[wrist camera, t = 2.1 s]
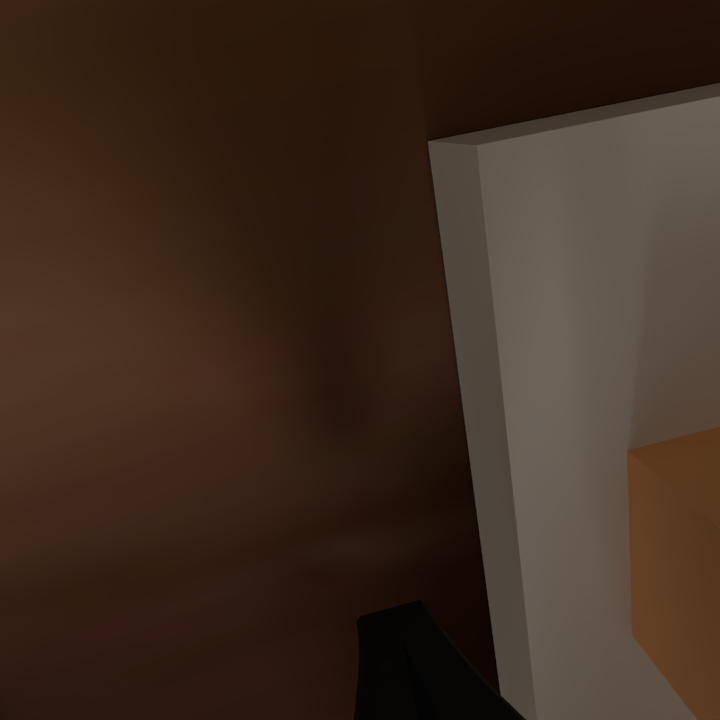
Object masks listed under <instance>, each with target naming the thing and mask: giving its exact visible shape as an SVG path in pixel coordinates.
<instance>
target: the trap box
mask: <svg viewBox="0 0 720 720" xmlns="http://www.w3.org/2000/svg"><path fill="white" fill-rule="evenodd" d="M428 147H429V155H430V162H431V170H432V178H433V185H434V193H435V200H436V208H437V215H438V223H439V231H440V238H441V246H442V253H443V261H444V269H445V276H446V284H447V291H448V299H449V307H450V314H451V322H452V329H453V337H454V344H455V352H456V360H457V367H458V375H459V382H460V390H461V398H462V405H463V413H464V420H465V428H466V436H467V443H468V451H469V458H470V466H471V473H472V481H473V489H474V496H475V504H476V511H477V519H478V527H479V534H480V542H481V549H482V557H483V565H484V572H485V580H486V587H487V595H488V603H489V610H490V618H491V625H492V633H493V640H494V648H495V656H496V663H497V671H498V678H499V686H500V694H501V696H502V697H503V698H504V699H505V700H506V701H507V702H508V703H510V704H511V705H512V706H513V707H514V708H515V709H516V710H517V711H518V712H519V713H520V714H521V715H522V716H523V717H524V718H525V719H526V720H697V719H696V718H695V716H694V715H693V714H692V712H691V711H690V710H689V708H688V707H687V706H686V705H685V703H684V702H683V701H682V699H681V698H680V697H679V695H678V694H677V693H676V691H675V690H674V689H673V688H672V686H671V685H670V684H669V682H668V681H667V680H666V678H665V677H664V676H663V675H662V673H661V672H660V671H659V669H658V668H657V667H656V665H655V664H654V663H653V661H652V660H651V659H650V658H649V656H648V655H647V654H646V652H645V651H644V650H643V648H642V647H641V646H640V644H639V643H638V642H637V641H636V639H635V638H634V637H633V635H632V612H631V575H630V537H629V500H628V463H627V450H630V449H634V448H638V447H642V446H646V445H650V444H654V443H658V442H661V441H665V440H669V439H673V438H677V437H681V436H685V435H689V434H693V433H697V432H700V431H704V430H708V429H712V428H716V427H720V83H717V84H712V85H707V86H702V87H697V88H692V89H687V90H682V91H677V92H672V93H667V94H662V95H657V96H652V97H647V98H642V99H637V100H632V101H627V102H622V103H617V104H612V105H607V106H602V107H597V108H592V109H587V110H582V111H577V112H572V113H567V114H562V115H557V116H552V117H547V118H542V119H537V120H532V121H527V122H522V123H517V124H512V125H507V126H502V127H497V128H492V129H487V130H482V131H477V132H472V133H467V134H462V135H457V136H452V137H447V138H442V139H437V140H432V141H428Z"/></svg>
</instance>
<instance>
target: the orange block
mask: <svg viewBox="0 0 720 720" xmlns="http://www.w3.org/2000/svg"><path fill="white" fill-rule="evenodd" d="M627 463H628V500H629V537H630V575H631V612H632V635H633V637H634V638H635V639H636V641H637V642H638V643H639V644H640V646H641V647H642V648H643V650H644V651H645V652H646V654H647V655H648V656H649V658H650V659H651V660H652V661H653V663H654V664H655V665H656V667H657V668H658V669H659V671H660V672H661V673H662V675H663V676H664V677H665V678H666V680H667V681H668V682H669V684H670V685H671V686H672V688H673V689H674V690H675V691H676V693H677V694H678V695H679V697H680V698H681V699H682V701H683V702H684V703H685V705H686V706H687V707H688V708H689V710H690V711H691V712H692V714H693V715H694V716H695V718H696V719H697V720H720V427H716V428H712V429H708V430H704V431H700V432H697V433H693V434H689V435H685V436H681V437H677V438H673V439H669V440H665V441H661V442H658V443H654V444H650V445H646V446H642V447H638V448H634V449H630V450H627Z"/></svg>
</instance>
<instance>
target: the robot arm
mask: <svg viewBox="0 0 720 720" xmlns="http://www.w3.org/2000/svg"><path fill="white" fill-rule="evenodd" d="M357 627H358V635H359V672H358V685H357V695H356V705H355V714H354V720H526V719H525V718H524V717H523V716H522V715H521V714H520V713H519V712H518V711H517V710H516V709H515V708H514V707H513V706H512V705H511V704H510V703H508V702H507V701H506V700H505V699H504V698H503V697H502V696H501V695H500V694H499V693H498V691H497V690H496V689H495V688H494V687H493V686H492V685H491V684H490V683H489V682H488V681H487V680H486V679H485V678H484V677H483V675H482V674H481V673H480V672H479V671H478V670H477V669H476V668H475V666H474V665H473V664H472V663H471V662H470V661H469V660H468V659H467V657H466V656H465V655H464V654H463V653H462V652H461V650H460V649H459V648H458V647H457V645H456V644H455V643H454V642H453V640H452V639H451V638H450V637H449V635H448V634H447V633H446V631H445V630H444V629H443V627H442V626H441V625H440V623H439V622H438V620H437V619H436V617H435V616H434V614H433V613H432V611H431V610H430V608H429V606H428V605H427V603H425V602H424V601H422V600H418V601H414V602H411V603H407V604H403V605H400V606H396V607H392V608H389V609H385V610H381V611H377V612H374V613H370V614H366V615H363V616H361V617H360V618H359V619H358V621H357Z"/></svg>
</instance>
